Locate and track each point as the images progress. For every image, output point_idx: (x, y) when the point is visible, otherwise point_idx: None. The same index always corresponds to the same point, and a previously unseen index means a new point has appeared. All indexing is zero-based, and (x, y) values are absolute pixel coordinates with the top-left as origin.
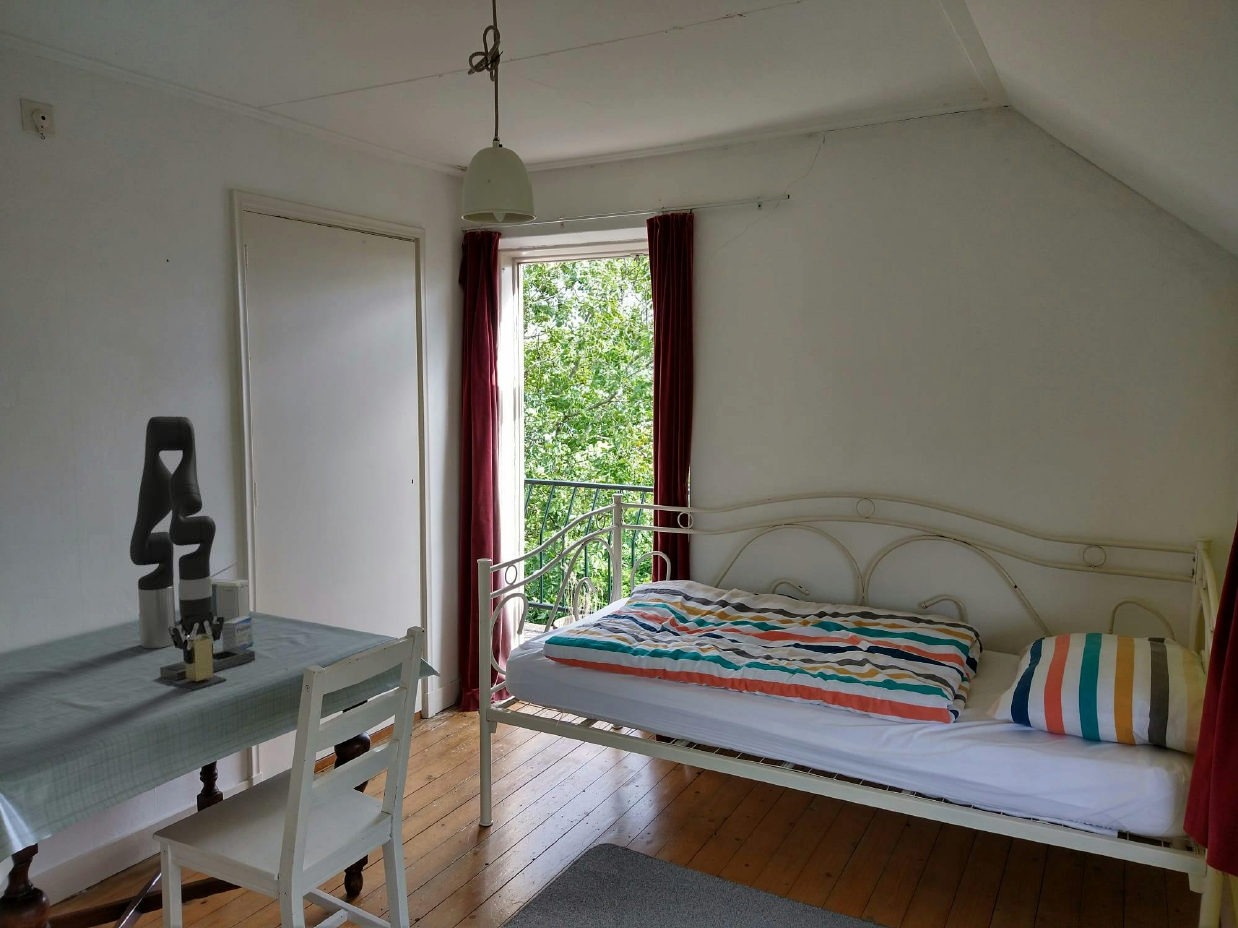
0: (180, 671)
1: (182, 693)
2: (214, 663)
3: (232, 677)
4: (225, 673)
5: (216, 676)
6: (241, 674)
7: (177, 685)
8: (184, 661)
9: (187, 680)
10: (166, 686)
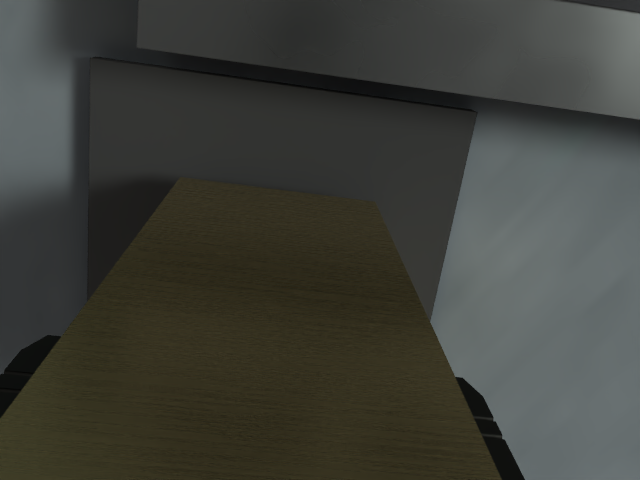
0: (197, 34)
1: (5, 362)
2: (627, 117)
3: (491, 388)
4: (564, 247)
5: (425, 300)
6: (581, 390)
7: (93, 149)
8: (45, 338)
9: (214, 146)
10: (23, 48)
